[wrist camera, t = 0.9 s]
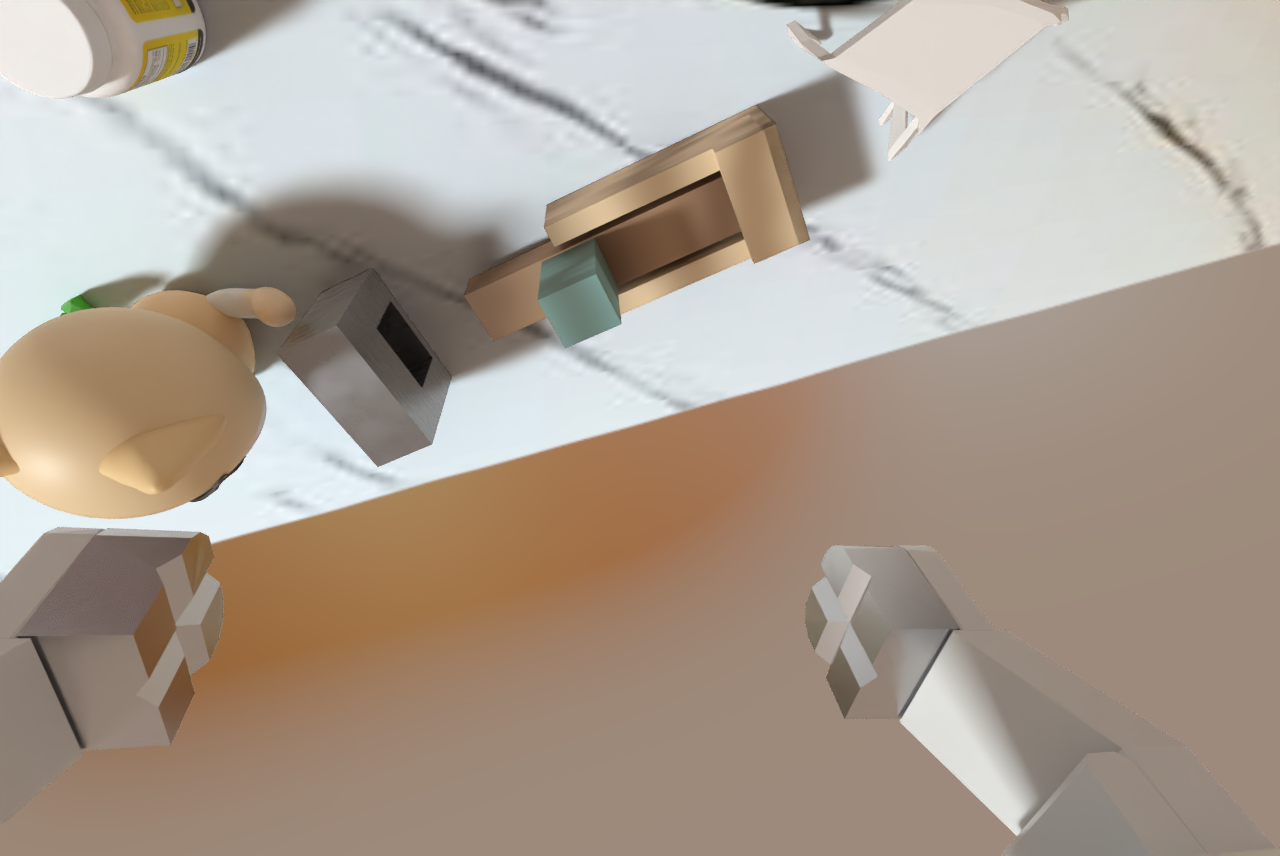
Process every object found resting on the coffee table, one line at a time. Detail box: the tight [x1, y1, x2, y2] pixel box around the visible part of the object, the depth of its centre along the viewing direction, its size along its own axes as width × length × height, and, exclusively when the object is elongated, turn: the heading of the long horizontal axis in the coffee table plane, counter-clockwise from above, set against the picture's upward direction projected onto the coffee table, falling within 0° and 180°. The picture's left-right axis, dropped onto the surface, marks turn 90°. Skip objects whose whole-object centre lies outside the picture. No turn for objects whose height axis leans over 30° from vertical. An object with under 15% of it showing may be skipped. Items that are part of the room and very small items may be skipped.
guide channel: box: [544, 105, 810, 315], centre depth 35 cm, size 12×6×4 cm, turn 114°
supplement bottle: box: [0, 0, 206, 99], centre depth 27 cm, size 5×5×8 cm
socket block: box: [277, 268, 452, 467], centre depth 38 cm, size 4×8×7 cm, turn 24°
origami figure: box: [787, 0, 1069, 162], centre depth 31 cm, size 12×8×5 cm
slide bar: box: [464, 170, 741, 348], centre depth 34 cm, size 16×3×7 cm, turn 114°
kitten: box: [0, 287, 297, 519], centre depth 33 cm, size 15×10×15 cm
